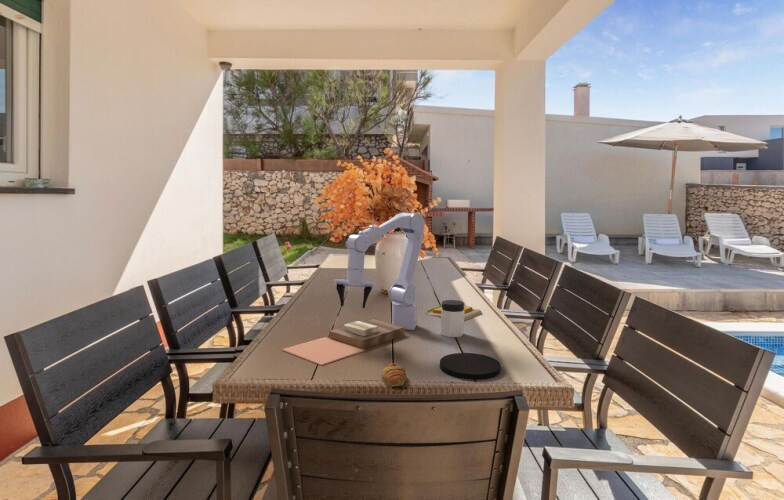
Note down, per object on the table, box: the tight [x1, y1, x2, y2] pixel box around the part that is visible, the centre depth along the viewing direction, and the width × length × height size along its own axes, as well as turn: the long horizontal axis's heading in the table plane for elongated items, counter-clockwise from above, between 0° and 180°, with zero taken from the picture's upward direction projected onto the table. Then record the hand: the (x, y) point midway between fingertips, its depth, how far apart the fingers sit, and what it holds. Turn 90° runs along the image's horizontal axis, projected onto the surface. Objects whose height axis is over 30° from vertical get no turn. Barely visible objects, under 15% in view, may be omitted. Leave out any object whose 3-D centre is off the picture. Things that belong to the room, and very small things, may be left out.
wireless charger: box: [439, 352, 502, 381], centre depth 141 cm, size 18×18×2 cm
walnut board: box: [328, 318, 406, 350], centre depth 169 cm, size 22×16×3 cm
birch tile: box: [343, 320, 378, 336], centre depth 167 cm, size 7×10×2 cm
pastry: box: [380, 362, 408, 388], centre depth 130 cm, size 9×7×4 cm
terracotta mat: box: [281, 336, 365, 366], centre depth 154 cm, size 18×20×1 cm
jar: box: [440, 299, 465, 338], centre depth 174 cm, size 9×8×12 cm
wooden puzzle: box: [424, 304, 483, 322], centre depth 204 cm, size 18×19×4 cm
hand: (352, 306), depth 168 cm, fingers open, 7 cm apart
